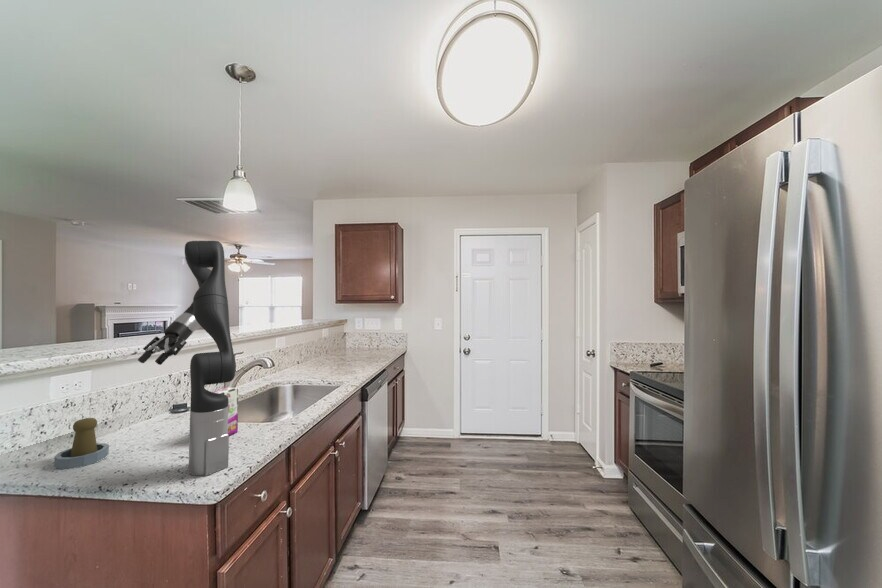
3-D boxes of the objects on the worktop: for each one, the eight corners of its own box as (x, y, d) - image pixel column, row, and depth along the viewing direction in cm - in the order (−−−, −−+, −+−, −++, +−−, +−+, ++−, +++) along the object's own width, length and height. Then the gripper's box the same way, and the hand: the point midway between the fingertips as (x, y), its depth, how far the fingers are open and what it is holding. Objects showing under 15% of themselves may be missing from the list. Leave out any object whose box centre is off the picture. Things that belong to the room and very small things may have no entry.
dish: (114, 456, 107) (114, 447, 107) (63, 472, 97) (63, 462, 97) (98, 449, 112) (99, 440, 112) (48, 463, 102) (49, 453, 102)
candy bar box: (226, 431, 129) (227, 386, 129) (238, 432, 128) (239, 387, 128) (200, 443, 118) (201, 394, 118) (213, 444, 117) (214, 395, 117)
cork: (77, 461, 102) (79, 423, 102) (64, 458, 104) (65, 421, 104) (102, 452, 108) (104, 417, 108) (89, 450, 109) (91, 415, 110)
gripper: (162, 320, 132) (126, 354, 120) (190, 321, 127) (155, 357, 116) (176, 333, 137) (142, 367, 125) (203, 334, 132) (171, 370, 121)
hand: (148, 362), depth 121 cm, fingers open, 8 cm apart
